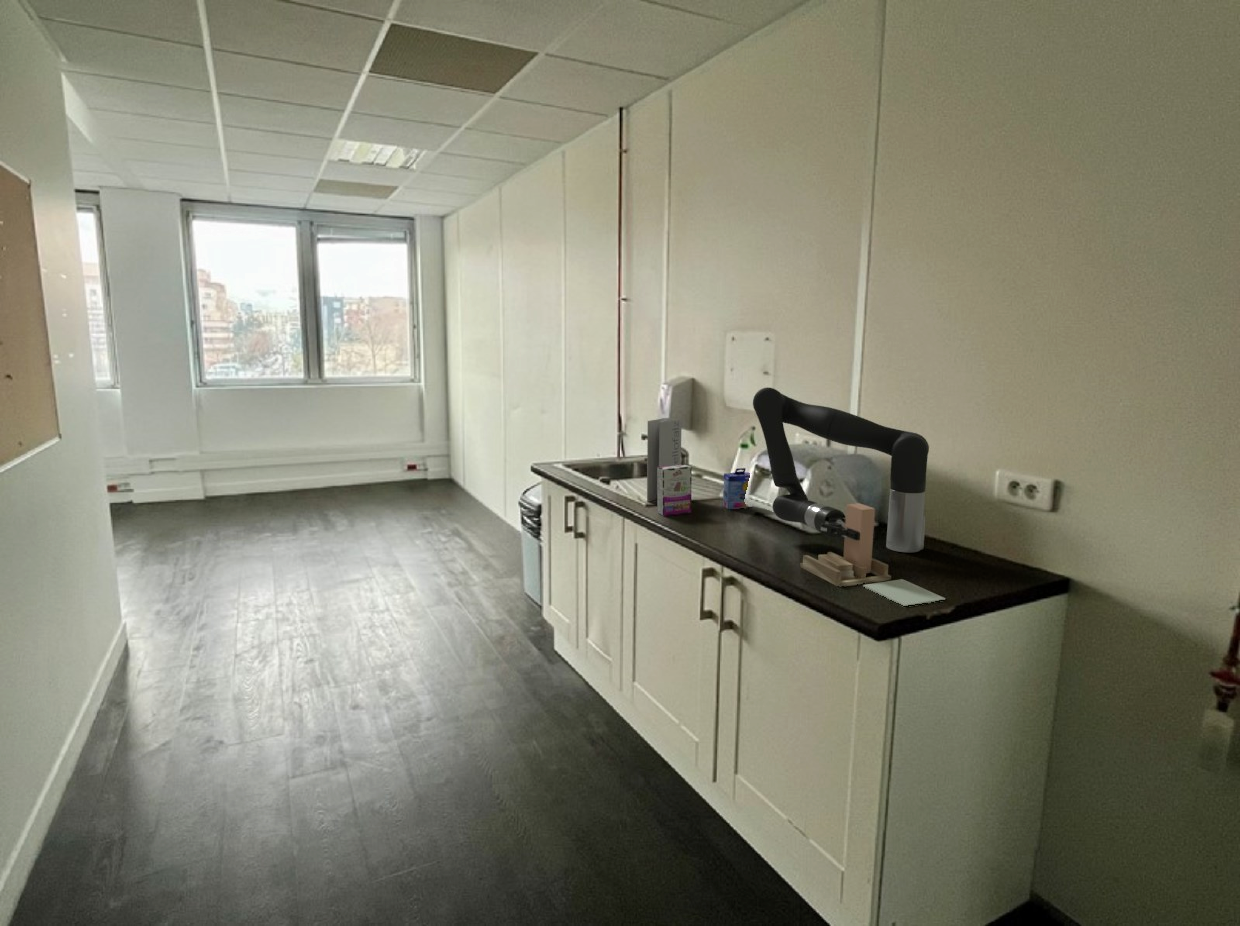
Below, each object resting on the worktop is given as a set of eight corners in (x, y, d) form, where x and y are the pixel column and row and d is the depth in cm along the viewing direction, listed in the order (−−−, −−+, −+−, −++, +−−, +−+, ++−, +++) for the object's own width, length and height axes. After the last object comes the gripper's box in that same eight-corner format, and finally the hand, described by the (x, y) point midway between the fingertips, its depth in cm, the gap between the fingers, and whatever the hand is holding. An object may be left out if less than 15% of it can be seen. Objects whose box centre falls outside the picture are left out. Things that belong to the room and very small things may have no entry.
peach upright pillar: (855, 565, 186) (859, 503, 183) (870, 572, 181) (874, 508, 178) (842, 567, 185) (846, 504, 182) (857, 574, 180) (861, 509, 177)
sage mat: (902, 581, 176) (902, 579, 176) (945, 600, 163) (945, 598, 163) (862, 586, 172) (863, 584, 172) (904, 607, 159) (904, 605, 159)
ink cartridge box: (727, 509, 248) (729, 469, 245) (721, 506, 253) (722, 466, 250) (753, 508, 250) (755, 468, 248) (747, 504, 255) (748, 465, 253)
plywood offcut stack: (830, 568, 187) (831, 553, 186) (854, 582, 176) (855, 566, 175) (815, 569, 185) (816, 554, 185) (839, 583, 175) (840, 567, 174)
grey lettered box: (659, 504, 256) (660, 422, 251) (646, 502, 259) (647, 421, 254) (680, 497, 267) (681, 418, 262) (668, 495, 270) (669, 417, 265)
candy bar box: (684, 510, 248) (685, 464, 245) (691, 513, 243) (692, 466, 240) (656, 513, 243) (656, 466, 240) (662, 516, 239) (663, 468, 236)
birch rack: (848, 560, 192) (849, 548, 191) (890, 579, 177) (891, 566, 176) (799, 566, 187) (800, 554, 186) (839, 587, 172) (840, 573, 171)
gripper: (803, 508, 191) (844, 523, 176) (846, 503, 196) (890, 518, 180) (802, 534, 193) (842, 552, 177) (845, 529, 198) (888, 546, 182)
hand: (866, 535), depth 179 cm, fingers closed on peach upright pillar, 4 cm apart
